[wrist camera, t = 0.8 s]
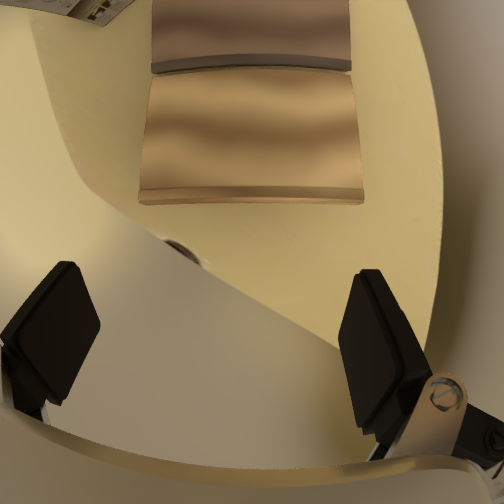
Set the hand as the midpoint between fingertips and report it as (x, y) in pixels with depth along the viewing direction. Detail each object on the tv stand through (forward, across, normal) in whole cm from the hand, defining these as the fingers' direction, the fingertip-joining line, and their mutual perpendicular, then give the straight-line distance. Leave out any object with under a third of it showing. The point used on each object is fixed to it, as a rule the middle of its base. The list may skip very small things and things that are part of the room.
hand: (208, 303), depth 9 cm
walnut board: (+21, -1, -14) cm, 25 cm away
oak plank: (+18, -1, -3) cm, 18 cm away
